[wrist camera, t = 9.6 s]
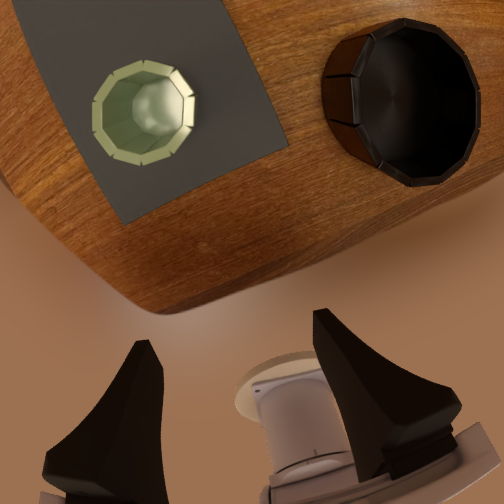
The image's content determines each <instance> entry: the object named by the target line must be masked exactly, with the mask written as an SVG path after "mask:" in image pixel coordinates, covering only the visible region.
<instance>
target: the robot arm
mask: <svg viewBox="0 0 504 504" xmlns="http://www.w3.org/2000/svg"><path fill="white" fill-rule="evenodd" d="M313 345H314V348H315V352H316V355H317V358H318V362H319V364H320V366H321V368H320V369H316V370H312V371H308V372H303V373H299V374H295V375H290V376H285V377H281V378H276V379H271V380H266V381H261V382H255V383H253V384H252V385H251V388H252V392H253V396H254V401H255V405H256V409H257V413H258V417H259V421H260V425H261V427H262V428H264V430H265V434H266V439H267V444H268V449H269V454H270V459H271V464H272V469H273V473H274V475H271V476H269V480H270V485H266V486H265V487H264V488H263V491H262V492H261V494H260V496H259V504H441V503H443V502H445V501H447V500H448V499H450V498H452V497H453V496H455V495H457V494H458V493H460V492H462V491H463V490H465V489H466V488H468V487H469V486H471V485H472V484H474V483H475V482H477V481H478V480H479V479H481V478H482V477H484V476H485V475H487V474H488V473H489V472H491V471H492V470H493V469H495V468H496V467H497V466H499V465H500V464H501V460H500V458H499V456H498V454H497V452H496V450H495V448H494V447H493V445H492V443H491V441H490V439H489V438H488V436H487V434H486V432H485V431H484V429H483V427H482V425H481V424H480V422H477V423H475V424H474V425H472V426H471V427H469V428H467V429H466V430H464V431H462V432H461V433H459V434H458V435H456V436H455V437H453V435H452V433H451V432H453V427H452V425H451V422H452V421H453V420H454V418H455V417H456V416H457V415H458V413H459V412H460V410H461V407H462V404H461V402H460V400H459V399H458V397H457V395H456V394H455V393H454V391H453V390H452V389H451V388H450V387H447V386H443V385H440V384H437V383H434V382H431V381H429V380H426V379H424V378H421V377H419V376H417V375H414V374H412V373H411V372H409V371H407V370H405V369H403V368H401V367H399V366H397V365H396V364H394V363H392V362H391V361H389V360H388V359H386V358H384V357H383V356H381V355H380V354H379V353H377V352H376V351H374V350H373V349H372V348H371V347H369V346H368V345H366V344H365V343H364V342H363V341H362V340H361V339H359V338H358V337H357V336H356V335H355V334H353V333H352V332H351V331H350V330H349V329H348V328H347V327H346V326H345V325H344V324H343V323H342V322H341V321H339V319H338V318H337V317H336V316H335V315H334V314H333V313H331V311H330V310H329V309H327V308H324V309H320V310H315V311H313ZM163 375H164V374H163V367H162V365H161V363H160V361H159V360H158V357H157V355H156V354H155V351H154V350H153V347H152V345H151V344H150V341H149V340H140V341H136V342H135V343H134V345H133V347H132V348H131V350H130V352H129V354H128V356H127V357H126V359H125V361H124V363H123V365H122V366H121V368H120V369H119V371H118V373H117V375H116V376H115V378H114V380H113V381H112V383H111V384H110V386H109V387H108V389H107V390H106V392H105V394H104V395H103V396H102V398H101V399H100V401H99V402H98V403H97V404H96V406H95V407H94V408H93V410H92V411H91V412H90V413H89V414H88V416H86V418H85V419H84V420H83V421H82V422H81V423H80V424H79V425H78V426H77V427H76V428H75V429H74V430H73V431H72V432H71V433H70V434H69V435H68V436H66V438H64V439H63V440H62V441H61V442H59V443H58V444H57V445H55V446H54V447H53V448H51V449H50V450H49V451H47V453H46V456H45V462H44V467H43V472H42V477H43V478H44V479H45V480H46V481H47V482H48V483H50V484H51V485H53V486H55V487H56V488H58V489H60V490H62V491H64V492H65V493H66V498H64V497H61V496H58V495H54V494H50V493H46V492H40V500H39V504H169V501H168V497H167V491H166V486H165V479H164V472H163V464H162V452H161V420H162V407H163V395H164V376H163ZM331 391H332V393H333V395H334V397H335V400H336V402H337V404H338V407H339V409H340V413H341V416H342V419H343V422H344V425H345V429H346V432H347V436H348V439H349V442H350V445H349V442H348V440H347V437H346V434H345V432H344V429H343V426H342V424H341V421H340V419H339V416H338V413H337V410H336V408H335V405H334V402H333V400H332V397H331ZM350 447H351V448H350Z"/></svg>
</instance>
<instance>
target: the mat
mask: <svg viewBox="0 0 504 504" xmlns="http://www.w3.org/2000/svg"><path fill="white" fill-rule="evenodd" d="M12 3H13V6H14V9H15V12H16V15H17V18H18V20H19V23H20V26H21V29H22V31H23V34H24V36H25V39H26V41H27V44H28V46H29V49H30V51H31V54H32V56H33V58H34V61H35V63H36V65H37V68H38V70H39V72H40V74H41V77H42V79H43V81H44V83H45V85H46V88H47V90H48V92H49V94H50V96H51V98H52V100H53V102H54V104H55V106H56V108H57V110H58V112H59V114H60V116H61V118H62V120H63V122H64V124H65V126H66V128H67V130H68V132H69V133H70V135H71V137H72V139H73V141H74V143H75V145H76V146H77V148H78V150H79V152H80V154H81V155H82V157H83V159H84V161H85V163H86V164H87V166H88V168H89V169H90V171H91V173H92V175H93V176H94V178H95V180H96V181H97V183H98V185H99V186H100V188H101V190H102V191H103V193H104V195H105V196H106V198H107V200H108V201H109V203H110V204H111V206H112V208H113V209H114V211H115V212H116V214H117V215H118V217H119V219H120V220H121V222H122V223H123V225H124V226H126V225H127V224H129V223H131V222H133V221H135V220H136V219H138V218H140V217H142V216H144V215H145V214H147V213H149V212H151V211H153V210H155V209H157V208H158V207H160V206H162V205H164V204H166V203H168V202H170V201H172V200H174V199H176V198H178V197H180V196H181V195H183V194H185V193H187V192H189V191H191V190H193V189H195V188H197V187H199V186H201V185H203V184H206V183H208V182H210V181H212V180H214V179H216V178H218V177H220V176H222V175H224V174H226V173H229V172H231V171H233V170H235V169H237V168H239V167H241V166H244V165H246V164H248V163H250V162H253V161H255V160H257V159H259V158H262V157H264V156H266V155H268V154H271V153H273V152H275V151H278V150H280V149H282V148H285V147H287V146H289V144H288V141H287V139H286V136H285V134H284V131H283V129H282V127H281V124H280V122H279V120H278V117H277V115H276V113H275V110H274V108H273V106H272V103H271V101H270V99H269V96H268V94H267V92H266V90H265V88H264V85H263V83H262V81H261V79H260V77H259V74H258V72H257V70H256V68H255V66H254V64H253V62H252V60H251V57H250V55H249V53H248V51H247V49H246V47H245V45H244V43H243V41H242V39H241V37H240V35H239V33H238V31H237V29H236V27H235V25H234V23H233V21H232V19H231V17H230V15H229V14H228V12H227V10H226V8H225V6H224V4H223V2H222V0H12ZM140 60H143V61H145V60H150V61H154V62H158V63H162V64H166V65H170V66H173V67H175V68H176V69H178V70H179V71H180V72H181V73H182V74H183V75H185V76H186V77H187V78H188V80H189V81H190V83H191V84H192V85H193V87H194V88H195V90H196V91H197V92H198V96H199V112H198V118H197V121H196V123H195V126H194V128H193V130H192V132H191V133H190V134H189V135H188V137H187V138H186V139H185V141H184V142H183V143H182V144H181V146H180V147H179V148H178V150H177V151H176V152H175V153H174V154H173V153H172V155H171V156H170V157H167V158H164V159H161V160H159V161H156V162H153V163H150V164H147V165H143V164H141V165H140V166H138V165H135V164H131V163H128V162H124V161H120V160H117V159H114V158H113V155H112V156H109V154H108V153H107V152H106V151H105V149H104V148H103V147H102V145H101V144H100V143H99V141H98V140H97V139H96V137H95V136H94V133H95V132H96V131H92V102H96V101H95V100H94V97H95V95H96V94H97V92H98V91H99V89H100V88H101V86H102V85H103V83H104V82H105V80H106V79H107V78H108V76H109V75H110V74H113V71H115V70H117V69H120V68H122V67H124V66H127V65H129V64H132V63H134V62H137V61H140Z"/></svg>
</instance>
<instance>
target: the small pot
mask: <svg viewBox="0 0 504 504" xmlns="http://www.w3.org/2000/svg"><path fill="white" fill-rule="evenodd" d="M94 100H95V101H96V102H92V131H96V132H95V133H94V136H95V137H96V139H97V140H98V141H99V143H100V144H101V145H102V147H103V148H104V149H105V151H106V152H107V153H108V154H109V156H112V155H113V158H114V159H117V160H120V161H124V162H128V163H131V164H135V165H138V166H140V165H141V164H143V165H147V164H150V163H153V162H156V161H159V160H161V159H164V158H167V157H170V156H171V155H172V153H173V154H174V153H175V152H176V151H177V150H178V148H179V147H180V146H181V144H182V143H183V142H184V141H185V139H186V138H187V137H188V135H189V134H190V133H191V132H192V130H193V128H194V126H195V123H196V121H197V118H198V112H199V96H198V92H197V91H196V90H195V88H194V87H193V85H192V84H191V83H190V81H189V80H188V78H187V77H186V76H185V75H183V74H182V73H181V72H180V71H179V70H178V69H176V68H175V67H173V66H170V65H166V64H162V63H158V62H154V61H150V60H145V61H143V60H140V61H137V62H134V63H132V64H129V65H127V66H124V67H122V68H120V69H117V70H115V71H113V74H110V75H109V76H108V78H107V79H106V80H105V82H104V83H103V85H102V86H101V88H100V89H99V91H98V92H97V94H96V95H95V97H94Z"/></svg>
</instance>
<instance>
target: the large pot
mask: <svg viewBox="0 0 504 504" xmlns="http://www.w3.org/2000/svg"><path fill="white" fill-rule="evenodd" d="M464 54H465V52H464V51H463V50H462V49H461V48H460V47H459V46H458V45H457V44H456V43H455V42H454V41H453V40H452V39H451V38H450V37H449V36H448V35H447V34H446V33H445V32H444V31H443V30H442V29H441V28H439V27H437V26H436V25H432V24H428V23H424V22H420V21H416V20H412V19H408V18H398V19H394V20H390V21H386V22H383V23H379V24H376V25H372V26H369V27H366V28H364V29H363V30H361V31H359V32H356V33H354V34H352V35H350V36H348V37H347V38H345V39H344V40H342V41H341V43H340V44H338V45H337V47H336V48H335V49H334V51H333V52H332V54H331V55H330V57H329V59H328V61H327V64H326V66H325V69H324V73H323V78H322V102H323V108H324V112H325V116H326V119H327V121H328V124H329V126H330V128H331V130H332V132H333V133H334V135H335V137H336V138H337V139H338V141H339V142H340V144H341V145H342V146H343V147H344V148H345V150H346V151H347V152H349V154H350V155H352V156H354V157H356V158H357V159H359V160H361V161H363V162H365V163H366V164H368V165H370V166H372V167H374V168H375V169H377V170H379V171H381V172H383V173H384V174H386V175H388V176H390V177H392V178H393V179H395V180H397V181H399V182H400V183H402V184H404V185H405V186H407V187H408V186H409V187H419V186H429V185H438V184H440V183H443V182H444V181H446V180H447V179H448V178H449V177H450V176H452V175H453V174H454V173H455V172H456V171H458V170H459V169H460V168H461V167H462V166H463V165H465V161H468V158H469V156H470V154H471V152H472V149H473V147H474V144H475V142H476V140H477V137H478V135H479V132H480V130H479V129H478V128H480V127H481V92H479V91H478V90H480V87H479V85H478V82H477V79H476V77H475V74H474V72H473V69H472V67H471V64H470V62H469V59H468V57H467V55H464Z"/></svg>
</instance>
